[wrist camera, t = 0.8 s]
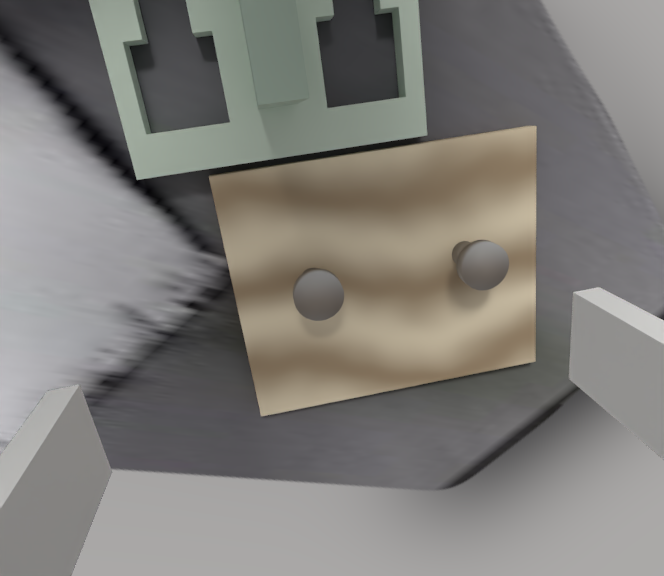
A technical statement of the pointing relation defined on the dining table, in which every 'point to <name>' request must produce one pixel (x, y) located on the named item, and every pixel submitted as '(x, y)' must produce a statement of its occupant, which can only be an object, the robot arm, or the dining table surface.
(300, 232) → the boss board
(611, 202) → the dining table surface
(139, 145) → the panel
